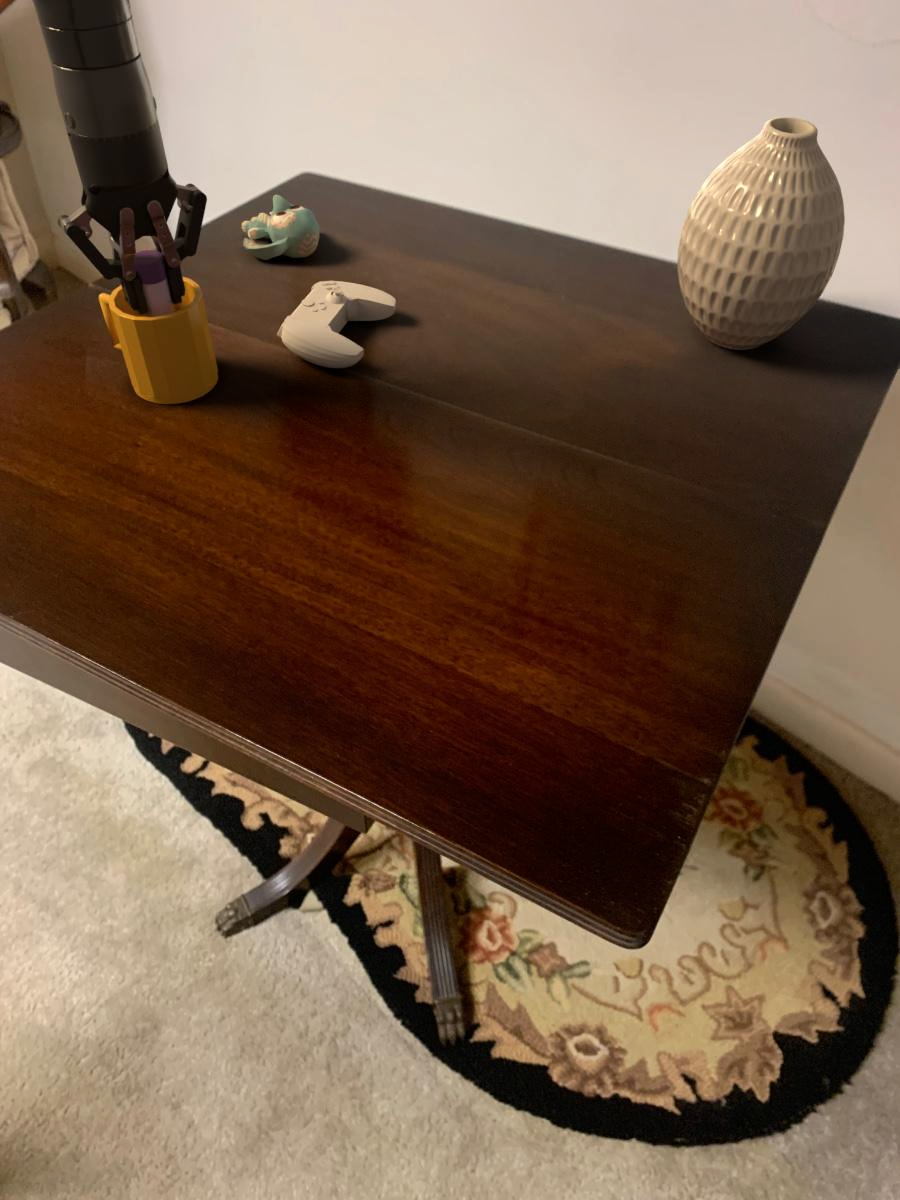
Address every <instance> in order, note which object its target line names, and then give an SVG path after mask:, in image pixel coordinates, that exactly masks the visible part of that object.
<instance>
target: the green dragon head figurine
mask: <svg viewBox="0 0 900 1200" xmlns="http://www.w3.org/2000/svg"><path fill="white" fill-rule="evenodd" d="M272 205H273V206H272V207H273V208H272V211H270V212H269V214H268V213H265V212H259V213H258V214H257V216H252V218H251V219H250V220H244V221H243V222H242V223H241V229H242V232H243V233H246V234H247V236H248V238H247V237H244V238H243V241H242V246H243V247H244V249H245V250H246V251H247V252H248V253H249V254H251V256H253V257H254V258H257V259H258V260H259V259H260V260H264V261H269V260H270V259H272V258H276V257H278V256H282V255H283V256H287V257H289V258H292V259H298V258H307V257H309V256H311V255H312V254H313V253H314V252H315V251H316V250H317V248H318V246H319V245H318V244H319V240H320V233H321V231H320V229H321V227H320V224H319V223H318V222H317V219H316V217H315V214H314V213H313V211H312V210H311V209H309V208H306V207H304V206H301V205H298V204H297V205H296V204H295V205H294V204H292V203H290V202H289V201H287V200H286V198H284V197H283V196H281V195H279V194H274V195H273V197H272ZM262 238H265V239H270V240H271V242H272V243H269V244H265V243H262V242H259V241H256V240H258V239H262Z"/></svg>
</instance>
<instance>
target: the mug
mask: <svg viewBox="0 0 900 1200" xmlns="http://www.w3.org/2000/svg"><path fill="white" fill-rule="evenodd" d="M182 277H183V282H184V286H185V296H181V299H182V303H179V304H174V303H173V306H174V310H175V312H174V313H171V314H169V315H163V316H156V317H146V314H142V315H140V314H139V312H138V311H137V310H135V311H134V310H133V309H132V308H131V307H130V305H129V304H128V303H127V302H126V300H125V297H124V293H123V290H122V286H121V284H120V285H119V286H118V287H116V288H115V289H113V290H112V292H111V294H108V293H106V292H102V293H100V294H99V295H98V302H99V305H100V307H101V311H102V315H103V318H104V321H105V324H106V328H107V332H108V334H109V339H110V341H111V344H112V347H113V348H114V349H116V350H119V351H121V352H122V355H123V358H124V362H125V366H126V369H127V373H128V375H129V380H130V383H131V386H132V388H133V391H134V392H135V394H136V395H137V396H138V397H140V398H141V399H143V400H145V401H147V402H150V403H154V404H160V405H177V404H184V403H187V402H191V401H194V400H196V399H199V398H202V397H204V396H205V395H207V394H208V393H209V392H211V391H212V390H213V389H214V388H215V386H216V385H217V383H218V380H219V368H218V364H217V359H216V355H215V349H214V344H213V340H212V333H211V329H210V324H209V320H208V315H207V310H206V306H205V301H204V295H203V292H202V289H201V286H200V284H198V283H197V282H196V281H194V280H193V279H191V278H190V277H185V276H182Z"/></svg>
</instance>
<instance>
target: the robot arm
mask: <svg viewBox="0 0 900 1200" xmlns="http://www.w3.org/2000/svg"><path fill="white" fill-rule="evenodd" d="M31 1H32V3H33V6H34V10H35V13H36V16H37V19H38V24H39V27H40V30H41V34H42V37H43V41H44V44H45V48H46V51H47V52H46V53H47V54H48V55H47V56H48V58H49V62H50V66H51V72H52V78H53V85H54V91H55V95H56V99H57V102H58V105H59V109H60V112H61V116H62V119H63V122H64V126H65V130H66V134H67V136H68V140H69V144H70V148H71V150H72V155H73V156H74V161H75V166H76V168H77V171H78V175H79V178H80V181H81V186H82V194H81V198H80V199H81V200H80V202H81V206H80V207H79V208H78V209H77V210H75V211H74V212H72V213H71V214H70V215H67V214H62V215H60V216H59V217H58V218H57V225H58V226H59V228H60V229H61V230H62V231H63V233H64V234H66V235H67V237H68V238H69V239H70V240H71V241H72V243H74V245H75V246H76V247H77V248H78V249H79V250H80V252H81V253H82V254H83V255H84V256H85V258H87V260H88V261H89V262H90V264H92V265H93V267H94V268H95V269H96V270H97V271H98V272H99V273H100V274H101V275H102V277H103V279H105V280H108V281H109V280H114V279H115V278H116V279H119V282H120V285H121V286H122V290H123V293H124V297H125V300H126V302H127V303H128V304H129V305H130V307H131V308H132V309H133V310H134V311H135V310H137V311H138V312H139V314H140V315H142V314H146V313H148V309H147V305H146V301H145V297H144V294H143V290H142V286H141V282H140V279H139V277H138V276H136V269H135V255H136V253H137V248H136V241H138V240H140V239H141V238H143V237H150V238H151V239H152V242H153V244H154V246H155V249H156V251H158V252H160V253H161V254H162V255H163V259H164V263H165V268H166V272H167V281H168V285H169V289H170V294H171V298H172V302H173V303H174V304H179V303H182V299H181V296H185V286H184V282H183V277H184V276H183V273H182V269H181V265H182V264H181V263H182V262H183V260H185V259H186V258H187V257H194V256H195V255H196V253H197V252H198V246H199V241H200V236H201V231H202V227H203V221H204V217H205V212H206V207H207V202H208V197H207V195H206V194H205V193H204V192H203V191H202V190H201V189H200V188H198V187H197V186H196V185H195V184H193V183H187V184H185V185H182V184H177V182H176V180H175V179H174V178H173V177H172V175H171V174H170V170H169V164H168V160H167V154H166V150H165V146H164V140H163V137H162V131H161V127H160V123H159V117H158V112H157V108H158V107H157V101H156V98H155V97H154V94H153V90H152V85H151V82H150V78H149V75H148V72H147V69H146V66H145V64H144V63H145V62H144V60H143V56H142V52H141V49H140V45H139V39H138V35H137V31H136V25H135V21H134V17H133V11H132V6H131V1H130V0H31ZM175 203H176V205H177V206H178V208H179V213H178V219H177V224H176V230H175V236H174V237H173V234H172V232H171V229H170V227H169V225H168V221H169V218H170V215H171V214H172V210H173V208H174V206H175ZM92 219H93V220H94V221H95V222H96V223H98V224H99V225H100V226H101V227H102V228H104V229H105V230H106V231H107V232H108V240H109V244H110V246H111V251H112V258H108V257H107V258H105V256H104V255H103V254H102V252H101V251H100V250H99V249H98V248H97V246H95V244H94V243H93V242H92V241H91V240H90V238H91V237H92V236H93V228H92V227H91V221H92Z"/></svg>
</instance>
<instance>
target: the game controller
mask: <svg viewBox="0 0 900 1200" xmlns="http://www.w3.org/2000/svg"><path fill="white" fill-rule="evenodd" d="M310 289H311V290H310V292H309V293H308V294H307V296H305V298H304V299H302V300H301V302H300V304H298V306H297V307H296V308H295V309H294V310H293V312H292V313H291V314H290V315H287V316H286V318H285V319H283V320H284V321H283V322H282V324H281V326H280V327H279V330H278V331H277V334H276V335H277V337H279V338H281V342H282V344H283V345H284V346H285V347H286V348H287V349H288V350H289V351H290V352H291V353H293V354H294V355H296V356H297V357H299V358H301V359H303V360H304V361H307V362H309V363H311V364H314V365H317V366H320V367H324V368H329V369H330V368H331V369H345V368H350V367H352V366H354V365H356V364H357V363H358V362H359V361H360V360H361V359H362V358H363V357H364V356H365V353H364V351H365V349H364V348H363V347H362V346H360V345H358V344H357V343H356V342H354V341H352V340H350V339H349V338H347V337H346V336H344V335H342V334H340V332H341V330H342V329H343V328H344V327H345V325H347V323H348V322H373V321H380V320H385V319H387V318H390V317H392V316H393V315H394V314H395V311H396V306H397V300H396V298H395V297H394V296H393V295H391V294H389V293H387V292H386V291H383V290H381V289H379V288H376V287H372V286H368V285H364V284H360V283H355V282H350V281H349V282H348V281H340V280H339V281H338V280H322V281H321V280H320V281H318V282H316V283H313V285H312V286H311V288H310Z"/></svg>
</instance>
